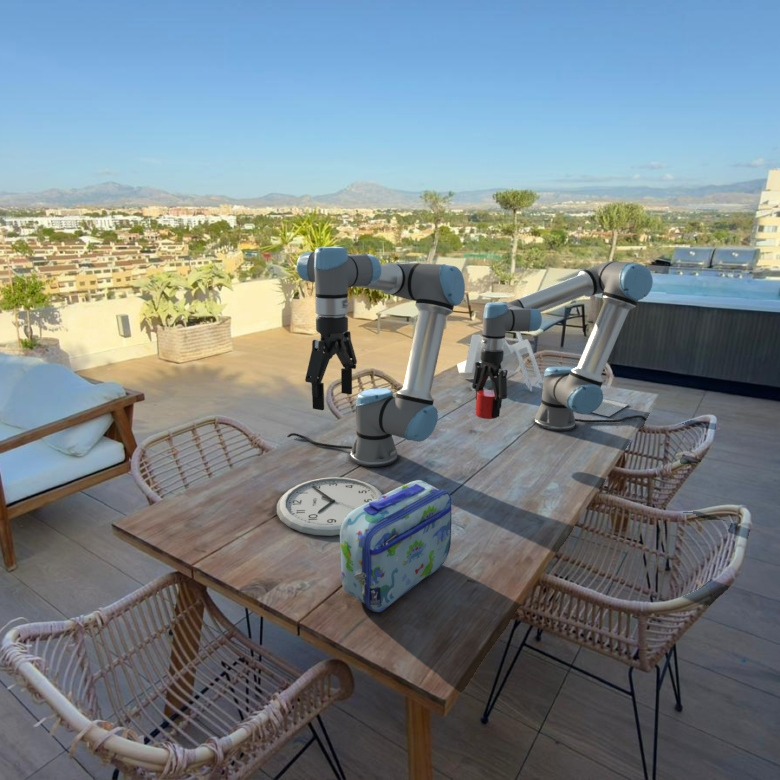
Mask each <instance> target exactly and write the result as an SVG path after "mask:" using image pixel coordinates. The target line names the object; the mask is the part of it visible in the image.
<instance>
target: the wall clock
mask: <svg viewBox="0 0 780 780" xmlns="http://www.w3.org/2000/svg"><path fill="white" fill-rule="evenodd" d="M384 494H385V493H383V492H382V491H381V490H380V489H379V488H377V487H376V486H374V485H372V484H371V483H369V482H365V481H362V480H359V479H355V478H349V477H338V476H337V477H335V476H333V477H332V476H331V477H322V478H317V479H312V480H307V481H305V482H302V483H299V484H297V485H295V486H293V487H292V488H290V489H288V490H287V491H286V492H285V493H284V494H283V495H281V496H280V498H279V499H278V502H277V503H276V515H277V517H278V518H279V520H280V521H281V522H282V523H283V524H285V525H286V526H287V527H288V528H290V529H293V530H295V531H297V532H299V533H303V534H308V535H312V536H327V537H328V536H329V537H331V536H332V537H333V536H340V530H341V526H342V523H343V521H344V519H345V518H346V516H347V515H348V514H349V513H350V512H351V511H353V510H354V509H356V508H358V507H360V506H362V505H364V504H366V503H368V502H370V501H372V500H374V499H376V498H378V497H380V496H382V495H384Z"/></svg>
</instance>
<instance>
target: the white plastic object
mask: <svg viewBox="0 0 780 780" xmlns="http://www.w3.org/2000/svg"><path fill="white" fill-rule="evenodd" d="M515 335H516V338H517V341H518V342H515V343H513V344H509V343H508V341H507V340H506V338H505V343H504V349H503V351H504V354H503V361H502V362H501V368H502V369H503V370H504V369H505V368H506V367H507V366H509V365H510V364H511V363H513V362H514V361H516V360H517V361H518V363H519V367H520V370H521V373H522V376H523V380H524V383H525V385H526V387H527V388H528V389H529V391H530V392H531V393H533V386H532V383H531V380H530V377H529V374H528V371H527V368H526V364H525V362H524V361H525V360H524V357H523V355H527V354H528V355H529V359H530V361H531V364H532V368H533V371H534V374H535V376H536V379H537V382H538V385H539V386H540V388H541V389H543V382H544V379H543V376H542V375H541V371H540V368H539V366H538V363H537V359H536V356H535V354H534V353H535V352H534V350H533V347H532V344H531V342H530V341H529V339H528V338H525V339H523V336H522V333H521V332H515ZM481 346H482V335H481V334H471V339H470V342H469V347H468V352H467V357H466V360H464V361H462V362H459V363H457V364H456V366H457V371H458V375H460V377H461V379H469V378H470V379H472V378H474V374H475V369H476V368H475V363H476V362H481V361H482V360H481V350H482V349H483V348H482V347H481Z"/></svg>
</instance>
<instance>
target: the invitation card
mask: <svg viewBox="0 0 780 780" xmlns="http://www.w3.org/2000/svg"><path fill="white" fill-rule="evenodd" d="M628 406H629V404H627V403H623V402H618V401H614V400H609V399H605V398H603V401H602V403H601V405H600V406H599V407H598V408H597V409H596V410H595V411H593V412H591V413H593V414H596V415H600V416H604V417H608V418H609V417H611V416H613V415H614V414H616V413H617V412H619V411H621V410H623V409H624V408H626V407H628Z"/></svg>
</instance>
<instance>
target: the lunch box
mask: <svg viewBox="0 0 780 780" xmlns="http://www.w3.org/2000/svg"><path fill="white" fill-rule="evenodd" d="M383 494H384V495H382V496H380V497H378V498H376V499H374V500H372V501H370V502H368V503H366V504H364V505H362V506H360V507H358V508H356V509H354V510H353V511H351V512H350V513H349V514H348V515H347V516H346V518H345V519H344V521H343V523H342V526H341V530H340V535H339V551H340V574H341V576H340V577H341V585H342V588H343V589H342V590H343V591H344V593H346V594H348V595H350V596H352V597H353V598H355V599H357V600H358V601H359V602H361V603H362V604H364V605H365V606H366V608H367V609H369V610H370V611H371V612H374V613H381V612H384V611H385V610H386V609H387V608H389V607H390V606H391V605H392V604H393V603H395V602H396V601H397V600H399V599H400V598H401V597H402V596H404V595H405V594H407V593H408V592H410V591H411V590H412V589H413V588H415V587H416V586H417V585H418V584H419V583H420V582H421V581H423V580H425V579H426V578H427V577H429V576H430V575H432V574H434V573H435V572H436V571H438V570H439V569H440V568H441V567H442V566H443V565H444V563H445V562H446V560H447V558H448V556H449V553H450V550H451V549H450V548H451V545H452V543H451V542H452V497H451V494H450V492H449V491H448V490H446V489H438V488H437V487H435V486H434V485H431V484H429V483H427V482H426V481H424V480H421V479H416V480H413V481H410V482H408V483H405V484H403V485H401V486H399V487H397V488H394V489H393V490H390V491H388V492H387V493H383Z"/></svg>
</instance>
